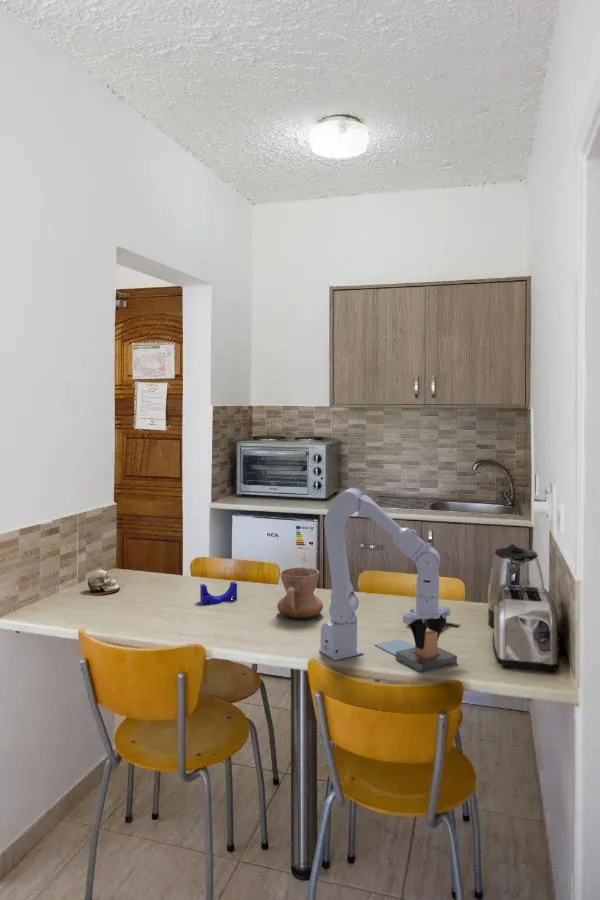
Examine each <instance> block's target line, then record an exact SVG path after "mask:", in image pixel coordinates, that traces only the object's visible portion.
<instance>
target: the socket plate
mask: <svg viewBox="0 0 600 900" xmlns="http://www.w3.org/2000/svg"><path fill="white" fill-rule="evenodd" d="M395 660H396V661H398V662H400V663H402V664H404V665H406V666H408V667H410V668H412V669H414V670H416V671H417V672H420V673H421V674H422V673H426V672H429V671H432V670H433V671H434V670H436V669H441V668H444V667H448V666H451V665H455V664H458V663H457V662H458V655H456V654H454V653H452V652H451V651H450V652H449V651H447V650H445V649H443V648H441V647H439V646H437V656H435V657H431V658H427V659H424V658H422V657H420V656H418V655H416V654H415V648H410V649H406V650H402V651H398V652H396V656H395Z"/></svg>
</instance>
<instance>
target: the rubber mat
mask: <svg viewBox="0 0 600 900" xmlns="http://www.w3.org/2000/svg"><path fill="white" fill-rule="evenodd" d="M374 646H375V647H377V648H379V649H381V650H383V651H385V652H387V653H389V654H390V655H393V656H395V657H396V652H398V651H402V650H406V649H410V648H415V644H412V643H409V642H408V641H406V640H403V639H401V638H397V639H392V640H387V641H383V642H378V643H375V644H374Z"/></svg>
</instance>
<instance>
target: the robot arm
mask: <svg viewBox="0 0 600 900" xmlns="http://www.w3.org/2000/svg"><path fill="white" fill-rule="evenodd" d="M356 512H357V517H362V518H369V519H370V520H372V521H373V522H375V524H377V525H378V526H379V527H380V528H381V529H382V530H384V531H385V532H386V533H387V534H388V535H390V536H391V537H392V541H393V543H392V544H393V545H394V546H395V547H396V548H398V549H399V550H400V551H401V552H402V553H403V554H404V555H405V556H406V557H407V558H408V559H410V561H413V562H415V567H416V569H417V576H416V583H415V584H416V585H415V586H416V587H415V588H416V590H415V591H416V593H415V598H416V599H415V601H416V602H415V609H413V610H414V611H412V612H410V611H409V612H408V613H404V614H403V615H402V623H404V624H406V625H408V627H409V628H410V630H411V633H412V635H413V636H412V637H413V639H414V642H415V643H414V645H415V644H416V647H417V648H419V649H423V647H424V637H425V632H426V629H427V628H429V629H432V630H434V631H436V632H438V639H439V637H440V634H441V632H442V630H443V628H444V627H445V625H446V624H447V623H446V621H447V618H446V619H444V618H442V616H446V617H450V616H451V607H450V608H449V607H447V606H440V607H439V602H440V601H439V598H440V596H439V595H440V594H439V593H440V577H439V575H440V572H439V567H440V562H441V555H440V553H439V552H438V550H437V549H436V547H434V546H431V544H430V543H429V542H426V541H424V540H423V539H422V538H421V537H419V536H418V535H417V531H416V530H415V529H414V528H412V529H410V528H409V527H401V526H400V525H399V524H398V523H397V522H396V521H395V520H394V519H393V518H391V516H390V515H388V514H387V512H386V511H384V510H383V508H382V507H380V506H379V505H378V504H377V503H376V502H375V501H374V500H373V499H372V498H371V497H369V495H367V494H364V493H363V492H362V491H361V490H360V489H359V488H356V487H350V488H346V489H345V490H344V491H341V492H340V493H339V494H337V496H335V498H333V500H331V504H330V506H329V509H328V510H327V513H326V514H325V517H324V518H323V519H324V520H323V524H324V525H323V526H324V534H325V540H326V549H327V558H328V564H329V565H328V566H329V571H330V573H329V574H330V579H331V591H330V604H329V609H328V613H329V616H330V619H329V620H328V621H327V622H324V623H323V624H322V625H321V626H320V648H319V649H318V651H319V652H321V653H322V654H324V655H325V656H327V657H329V658H330V659H332V660H334V661H337V660H341V659H348V658H350V657H354V656H355V657H356V656H360V655H363V654H364V651H363V650H361V649H359V648H358V617H357V615H356V613H355V612H356V611H357V609H358V607H359V598H358V596H357V595H356V593H355V591H354V586H353V583H351V577H350V576H351V575H350V566H349V560H348V554H347V551H348V550H347V544H346V537H345V530H344V525H345V523H346V522H347V520H348V519H349V518H350V517H351V516H352V515H354V514H355V513H356ZM426 619H427V620H426ZM422 620H424V621H426V623H427V624H425V623H424V624H423V622H422ZM438 641H439V640H438ZM438 641H437V643H438Z"/></svg>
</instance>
